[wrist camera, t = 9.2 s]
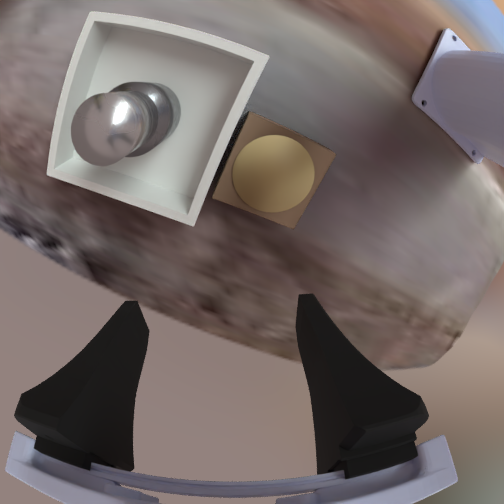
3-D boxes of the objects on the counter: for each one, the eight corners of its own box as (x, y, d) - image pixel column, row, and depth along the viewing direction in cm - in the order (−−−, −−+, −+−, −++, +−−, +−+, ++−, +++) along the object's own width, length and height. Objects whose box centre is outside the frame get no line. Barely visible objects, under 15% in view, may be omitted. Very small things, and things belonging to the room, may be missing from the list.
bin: (264, 61, 15) (269, 56, 12) (199, 205, 20) (193, 226, 17) (111, 19, 12) (90, 11, 9) (69, 160, 17) (46, 174, 14)
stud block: (329, 149, 18) (336, 154, 17) (290, 219, 21) (293, 230, 20) (249, 110, 16) (249, 113, 15) (213, 189, 19) (211, 198, 18)
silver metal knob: (182, 141, 17) (152, 172, 11) (122, 148, 17) (70, 182, 11) (179, 78, 14) (144, 72, 9) (117, 88, 14) (58, 94, 8)
